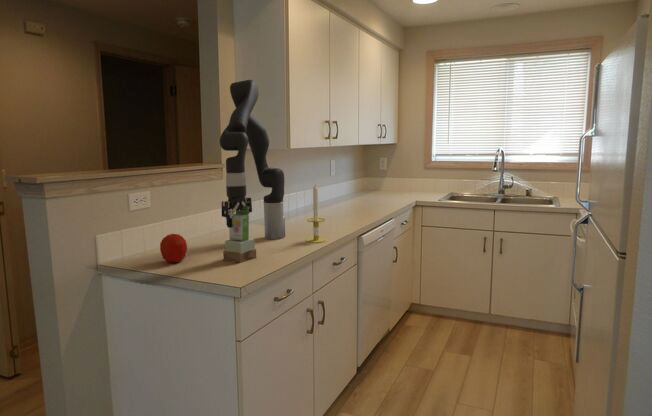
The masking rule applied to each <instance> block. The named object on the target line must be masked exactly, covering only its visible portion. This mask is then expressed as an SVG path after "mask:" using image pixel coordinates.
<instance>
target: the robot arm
mask: <svg viewBox="0 0 652 416" xmlns="http://www.w3.org/2000/svg"><path fill="white" fill-rule="evenodd" d="M229 91H230V92H229V93H230V97H231V99H232V102H233V104H234V106H235V109H234V110H233V111H232V113H231V114H230V117H229V121H228V122H229V123H228V124H227V126H226V127H225V129H224V130H223V131H222V133H221V134H220V137H219V145H220V148H221V149H222V150H224V151H227V152H228V151H233V152H234V151H236V152H237V151H238V152H237V153H236V155H234V156H230V157H229V156H228V157H227V158H226V159H225V172H226V174H225V185H226V186H225V187H226V190H225V191H226V196H227V201H226V200H222V201H221V217H222V218H225V220H226V227H227V228H228V229H229V228H232V227H233V223H232V216H233V214H236V211H238V210H241V211H246V206H249V214H250V213H252V212H253V205H252V204H253V203H252V198H251V197H247V181H246V179H247V178H246V168H245V160H246V159H245V158H246V153H247V149H248V145H249V148H250V151H251V154H252V157H253V160H254V164H255V167H256V169H255V170H256V173H257V174H256V175H257V176H258V181H259V183H260V185H261V186H262V187H263V188H266V189H267V188H270V189H271V191H270V193H268V194H266V195H263V222H264V227H263V228H264V238H265V240H266V239H267V240H279V239H284V238H285V237H286V218H285V215H284V197H285V173H284V171H283V169H281V168H275V167H269V165H268V162H267V154H268V150H269V147H270V146H269V145H270V138H269V134H268V132H267V128H266V127H265V125H264V124H263V123H262V122H260V120H259V119H257V118H256V117H255V116H254V115H253V114H252V112H253V110H254V107H255V106H256V104H257V101H258V98H259V88H258V85H257V83H256V81H255V80H253V79H246V80H240V81H237V82H232V83H231V84H230V86H229Z"/></svg>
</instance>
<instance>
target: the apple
mask: <svg viewBox="0 0 652 416" xmlns="http://www.w3.org/2000/svg"><path fill="white" fill-rule="evenodd" d="M159 245H160V246H159V251H160V253H161V256H162V259H163V260H164V261H166V262H168V263H170V264H172V263H180V262H182V261H183V260H184V259H185V258H186V256H187V252H188V244H187V240H186V239H185V237H183V236H182V235H180V234H177V233H171V234H167V235H166V236H164V237H163V238H162V239H161V241H160V244H159Z"/></svg>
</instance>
